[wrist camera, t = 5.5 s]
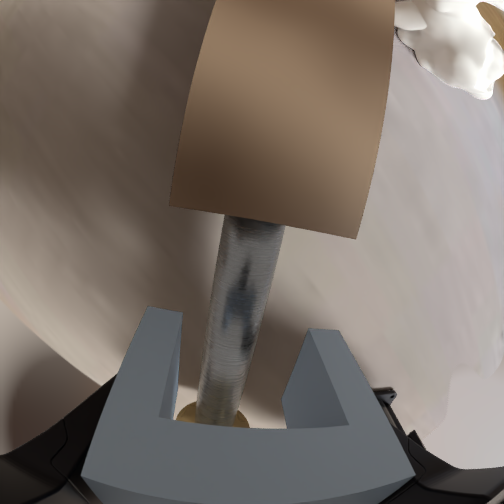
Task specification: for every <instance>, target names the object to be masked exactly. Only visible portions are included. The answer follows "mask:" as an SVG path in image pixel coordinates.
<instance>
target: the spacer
mask: <svg viewBox="0 0 504 504" xmlns="http://www.w3.org/2000/svg"><path fill="white" fill-rule="evenodd" d="M182 318H183V312H178V311H172V310H166V309H161V308H155V307H150V306H148V307H147V309H146V311H145V313H144V316H143V318H142V320H141V322H140V324H139V326H138V328H137V331H136V333H135V335H134V337H133V339H132V342H131V344H130V346H129V348H128V351H127V353H126V355H125V357H124V360H123V362H122V364H121V367H120V369H119V371H118V374H117V376H116V379H115V381H114V384H113V386H112V388H111V391H110V393H109V396H108V399H107V401H106V404H105V406H104V409H103V412H102V414H101V417H100V420H99V422H98V425H97V428H96V431H95V433H94V436H93V439H92V442H91V445H90V448H89V451H88V454H87V457H86V460H85V463H84V466H83V469H82V473H81V477H82V478H83V479H84V481H85V482H86V483H87V485H88V486H89V487H90V489H91V490H92V491H93V492H94V494H95V495H96V496H97V497H98V498H99V500H100V501H101V502H102V503H103V504H378V503H380V502H381V501H382V500H384V499H385V498H387V497H388V496H389V495H391V494H392V493H394V492H395V491H396V490H398V489H399V488H400V487H401V486H403V485H404V484H405V483H406V482H408V481H409V480H410V479H411V478H413V477H414V476H415V475H416V474H415V472H414V470H413V468H412V466H411V464H410V462H409V460H408V458H407V456H406V454H405V452H404V450H403V448H402V446H401V444H400V442H399V440H398V438H397V436H396V434H395V432H394V430H393V428H392V426H391V425H390V423H389V421H388V419H387V417H386V415H385V413H384V411H383V409H382V407H381V406H380V404H379V402H378V400H377V398H376V396H375V394H374V393H373V391H372V389H371V387H370V385H369V383H368V382H367V380H366V378H365V376H364V374H363V373H362V371H361V369H360V367H359V365H358V364H357V362H356V360H355V358H354V356H353V355H352V353H351V351H350V349H349V348H348V346H347V344H346V342H345V341H344V339H343V337H342V335H341V334H340V332H339V330H326V329H313V328H308V331H307V334H306V337H305V340H304V342H303V345H302V348H301V350H300V353H299V356H298V358H297V361H296V364H295V366H294V369H293V371H292V374H291V376H290V379H289V381H288V384H287V386H286V389H285V391H284V394H283V396H282V398H281V401H282V406H283V411H284V415H285V420H286V425H287V429H260V428H239V427H226V426H215V425H206V424H198V423H190V422H184V421H177V420H173V416H174V409H175V403H176V397H177V391H178V375H179V358H180V343H181V330H182Z"/></svg>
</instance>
